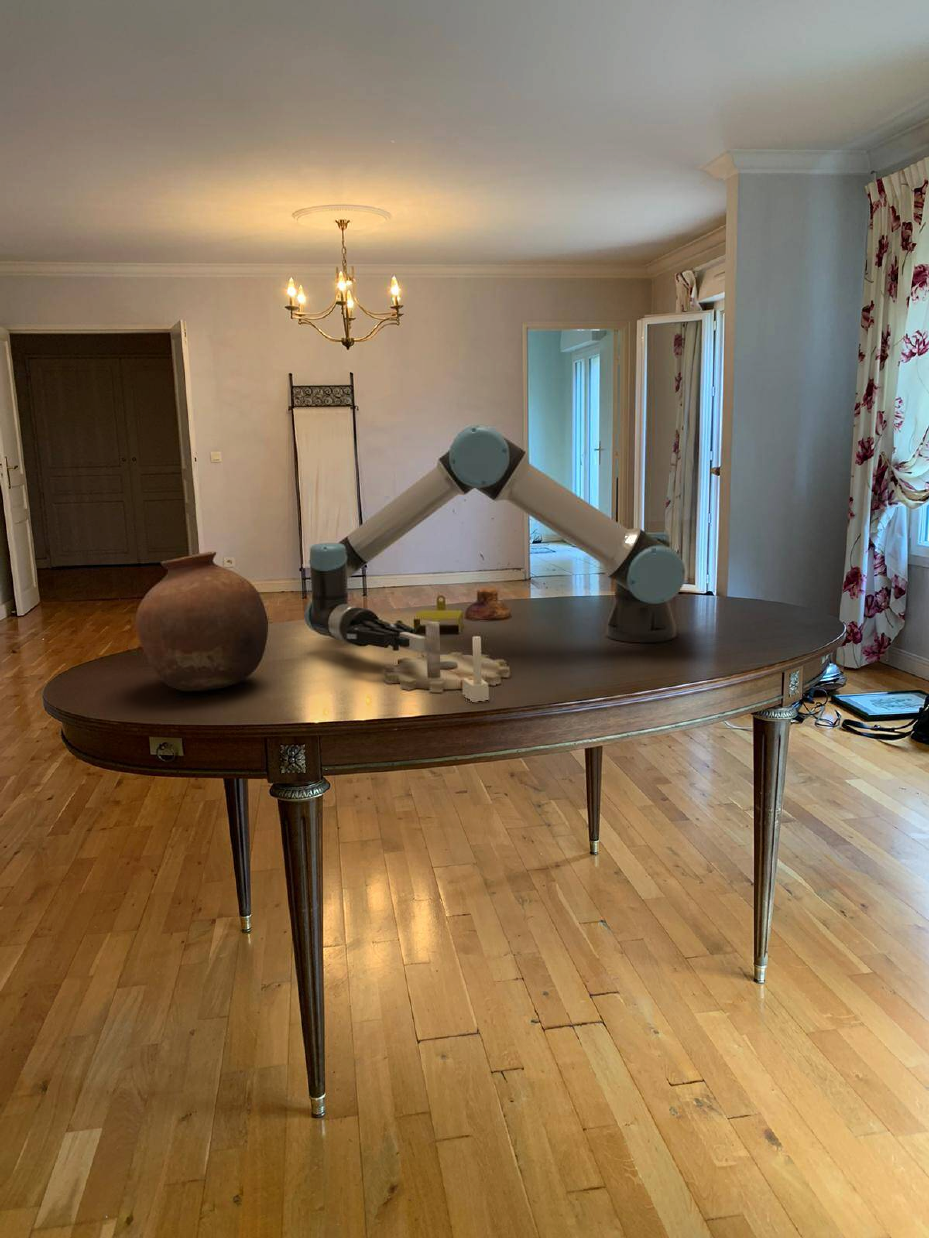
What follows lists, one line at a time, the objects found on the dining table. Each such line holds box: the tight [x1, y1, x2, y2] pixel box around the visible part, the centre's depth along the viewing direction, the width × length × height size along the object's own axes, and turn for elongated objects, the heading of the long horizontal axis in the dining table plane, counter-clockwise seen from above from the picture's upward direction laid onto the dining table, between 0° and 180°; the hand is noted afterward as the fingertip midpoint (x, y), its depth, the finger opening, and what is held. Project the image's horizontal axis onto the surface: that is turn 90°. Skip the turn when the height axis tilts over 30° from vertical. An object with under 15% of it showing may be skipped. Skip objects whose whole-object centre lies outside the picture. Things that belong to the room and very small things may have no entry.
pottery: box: [135, 550, 269, 692], centre depth 160 cm, size 23×23×25 cm
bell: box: [464, 588, 512, 621], centre depth 221 cm, size 12×12×7 cm
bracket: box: [413, 594, 464, 634], centre depth 205 cm, size 16×8×15 cm
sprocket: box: [384, 621, 511, 693], centre depth 165 cm, size 23×23×12 cm
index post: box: [462, 635, 490, 703], centre depth 150 cm, size 5×3×11 cm, turn 19°
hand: (422, 645), depth 159 cm, fingers closed
